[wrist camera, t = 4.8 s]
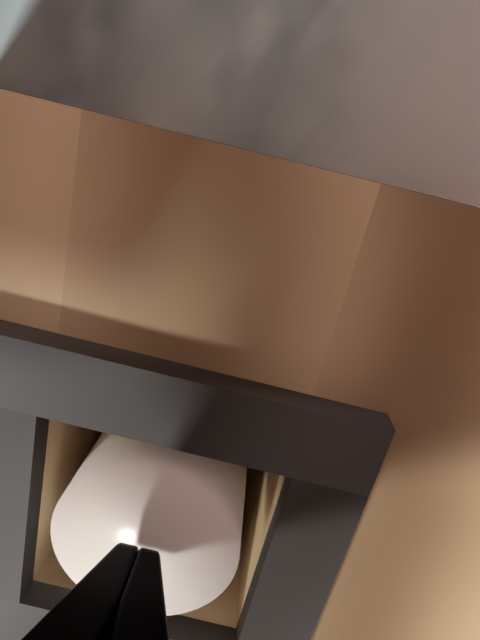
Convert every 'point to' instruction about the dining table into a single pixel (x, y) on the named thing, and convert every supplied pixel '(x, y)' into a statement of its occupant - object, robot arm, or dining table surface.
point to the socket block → (244, 369)
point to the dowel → (154, 516)
